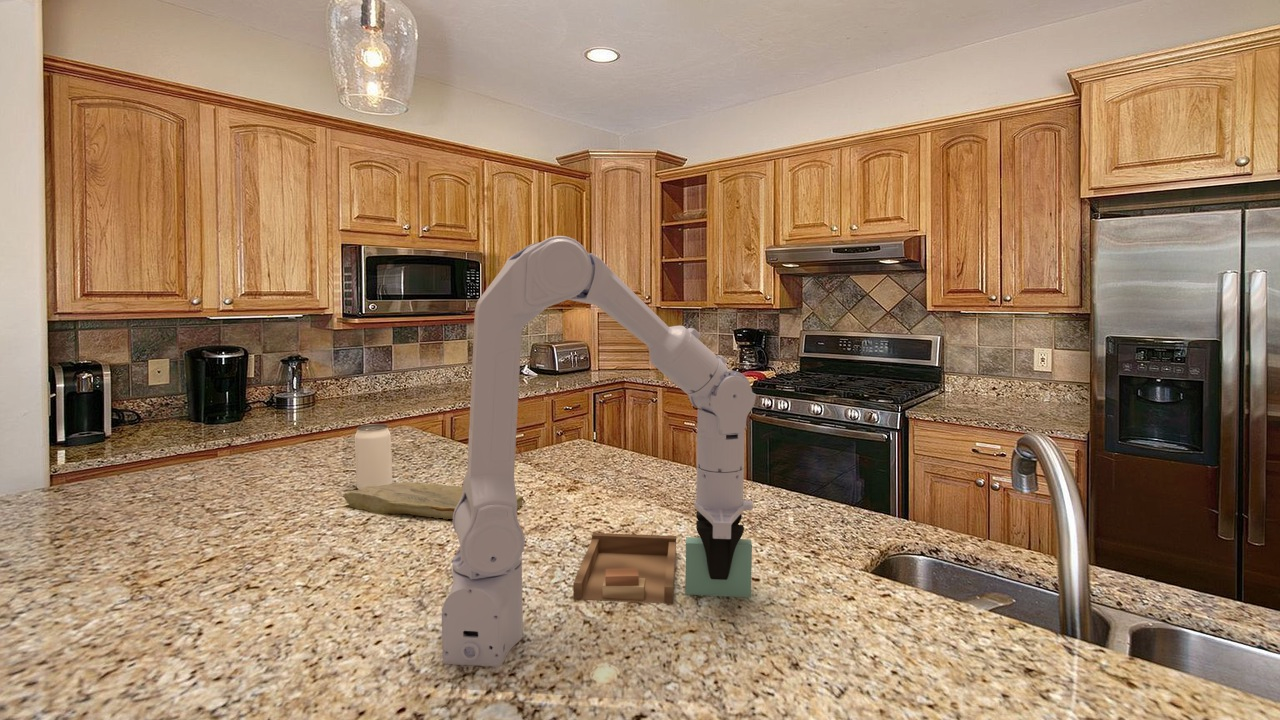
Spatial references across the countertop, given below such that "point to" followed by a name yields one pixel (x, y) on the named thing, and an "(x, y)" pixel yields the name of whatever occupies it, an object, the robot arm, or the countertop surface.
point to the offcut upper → (622, 577)
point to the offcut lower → (625, 591)
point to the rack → (628, 565)
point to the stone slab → (410, 499)
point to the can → (373, 455)
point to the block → (704, 585)
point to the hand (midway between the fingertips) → (718, 573)
